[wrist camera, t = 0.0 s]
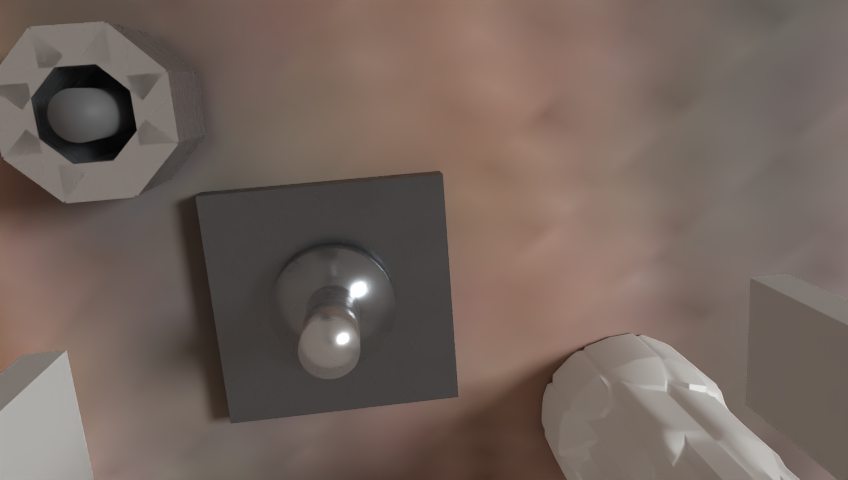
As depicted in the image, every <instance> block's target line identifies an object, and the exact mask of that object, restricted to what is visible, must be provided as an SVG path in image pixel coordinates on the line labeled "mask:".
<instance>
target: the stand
mask: <svg viewBox="0 0 848 480" xmlns="http://www.w3.org/2000/svg"><path fill="white" fill-rule="evenodd" d="M47 115H48V120H49V123H50V125H51V127H52V129H53V130H54V131H55V132H56V133H57V134H58V135H59V136H60V137H62V138H63V139H65V140H67V141H70V142H75V143H83V142H88V141H93V140H97V139H101V140H102V141H104V142H105V143H106V144H108V145H109V146H110V147H112V148H113V149H114V150H116V151H117V152H120V151H122V149H123V148H124V147H125V145H126V144H127V143H128V142H129V140H130V139H131V138H132V136H133V135H134V134H135V133H136V131H137V128H136V122H135V116H134V110H133V105H132V99H131V93H130V90H129V89H127V88H126V87H125V86H123V85H122V84H121V83H120V82H118V81H117V80H116V79H114V78H113V77H112V76H111V75H109V74H108V73H107V72H106V71H104V70H102V71H101V73H100V74H99V75H98V76H97V78H96V79H95V80H94V82H93V83H92V84H91V86H90V87H89V88H69V89H64V90H62V91H60V92H58V93H57V94H55V95H54V96H53V98H52V99H51V101H50V103H49V105H48V110H47Z"/></svg>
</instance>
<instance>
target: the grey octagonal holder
mask: <svg viewBox="0 0 848 480" xmlns="http://www.w3.org/2000/svg"><path fill="white" fill-rule="evenodd" d="M102 70H104V71H106V72H107V73H108V74H109V75H111V76H112V77H113V78H114V79H116V80H117V81H118V82H120V83H121V84H122V85H123V86H125V87H126V88H127V89H129V90H130V93H131V99H132V105H133V110H134V116H135V122H136V128H137V131H136V133H135V134H134V135H133V136H132V138H131V139H130V140H129V142H128V143H127V144H126V145H125V147H124V148H123V149H122V151H120V152H117V151H116V150H114V149H113V148H112V147H110V146H109V145H108V144H106V143H105V142H104V141H102V140H101V139H97V140H93V141H88V142H83V143H75V142H70V141H67V140H65V139H63V138H62V137H60V136H59V135H58V134H57V133H56V132H55V131H54V130H53V129H52V127H51V125H50V123H49V120H48V115H47V110H48V105H49V103H50V101H51V99H52V98H53V96H54V95H55V94H57V93H58V92H60V91H62V90H64V89H69V88H89V87H90V86H91V84H92V83H93V82H94V80H95V79H96V78H97V76H98V75H99V74H100V73H101V71H102ZM195 73H196V72H195V71H194V70H192V69H191V68H190V67H189V66H188V65H186V64H185V63H184V62H183V61H181V60H180V59H179V58H178V57H176V56H175V55H174V54H173V53H171V52H170V51H169V50H168V49H167V48H165V47H164V46H163V45H162V44H160V43H159V42H158V41H157V40H155V39H154V38H153V37H152V36H150V35H149V34H148V33H147V32H144V31H140V30H136V29H132V28H128V27H124V26H120V25H116V24H112V23H108V22H89V23H75V24H60V25H46V26H31V27H30V28H27V30H26V31H25V32H24V34H23V35H22V36H21V38H20V39H19V41H18V42H17V43H16V45H15V46H14V47H13V49H12V50H11V51H10V53H9V54H8V55H7V57H6V58H5V59H4V61H3V62H2V63H1V65H0V152H1V156H2V157H4V158H3V159H4V160H5V161H6V162H8V163H9V164H11V165H12V166H13V167H15V168H16V169H18V170H19V171H20V172H22V173H23V174H24V175H26V176H27V177H29V178H30V179H31V180H33V181H34V182H36V183H37V184H38V185H40V186H41V187H42V188H44V189H45V190H47V191H48V192H49V193H51V194H52V195H54V196H55V197H56V198H58V199H59V200H60V201H62V202H63V203H64V202H66V203H75V202H87V201H98V200H109V199H120V198H131V197H137V196H139V195H141V194H143V193H144V192H146V191H148V190H150V189H152V188H154V187H156V186H158V185H160V184H162V183H164V182H166V181H168V180H170V179H171V178H172V177H173V176H174V174H175V173H176V172H177V171H178V169H179V168H180V167H181V165H182V164H183V163H184V162H185V160H186V159H187V158H188V157H189V155H190V154H191V153H192V152H193V150H194V149H195V148H196V147H197V145H198V144H199V143H200V142H201V140H202V139H203V138H204V137H205V134H206V129H205V123H204V116H203V109H202V103H201V96H200V89H199V83H198V76H197V74H195Z"/></svg>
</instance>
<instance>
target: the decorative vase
mask: <svg viewBox="0 0 848 480" xmlns="http://www.w3.org/2000/svg"><path fill="white" fill-rule="evenodd" d="M541 421H542V425H543V427H544V429H545V438H546V440H547V442H548V444H549V446H550V448H551V450H552V452H553V455H554V457H555V459H556V461H557V462H558V464H559V466H560V468H561V470H562V472H563V474H564V475H565V477H566V479H567V480H800V479H799V478H797V477H796V476H795V475H794V474H793V473H792V472H791V471H790V470H788V469H787V468H786V467H785V465H784V463H783V462H782V460H781V458H780V457H779V455H778V454H776V453H775V452H774V451H773V450H772V449H771V448H770V447H768V446H767V445H766V444H765V443H764V442H763V441H762V440H760V439H759V438H758V437H757V436H756V435H755V434H754V433H752V432H751V431H750V430H749V429H748V428H747V427H746V426H744V425H743V424H742V423H741V422H740V421H739V420H738V419H737V418H736V417H735V416H734V415H733V414H732V413H731V412H730V411H729V410H728V408H727V407H726V405H725V403H724V399H723V396H722V393H721V391H720V390H719V389H718V387H717V385H716V384H715V383H714V382H713V381H712V380H710V379H709V378H708V377H707V376H706V375H705V374H703V373H702V372H701V371H700V370H699V369H697V368H696V367H695V366H694V365H693V364H691V363H690V362H689V361H688V360H687V359H685V358H684V357H683V356H682V355H681V354H679V353H678V352H677V351H676V350H674V349H673V348H672V347H671V346H669V345H667V344H665V343H663V342H661V341H658V340H655V339H652V338H650V337H647V336H644V335H639V336H635V335H634V334H632V333H631V334H625V335H619V336H613V337H608V338H606V339H603V340H601V341H598V342H596V343H593V344H591V345H588V346H586V347H585V348H584V350H583V351H577V352H575V353H574V354H572V355H571V356H570V357H569V358H568V359H567V360H566V361H565V362H564V363H563V364H562V365H561V366H560V367H559V368H558V369H557V371H556V372H555V373H554V374H553V380H552V382H551V383H549V384H547V386H546V389H545V392H544V395H543V401H542V417H541Z"/></svg>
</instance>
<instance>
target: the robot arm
mask: <svg viewBox="0 0 848 480" xmlns="http://www.w3.org/2000/svg"><path fill="white" fill-rule="evenodd" d="M746 405H747V406H748V407H749V408H751V409H752V410H753V411H754V412H755V413H757V414H758V415H759V416H760V417H762V418H763V419H764V420H765V421H766V422H768V423H769V424H770V425H771V426H773V427H774V428H775V429H776V430H777V431H779V432H780V433H781V434H782V435H784V436H785V437H786V438H787V439H788V440H790V441H791V442H792V443H793V444H795V445H796V446H797V447H798V448H799V449H801V450H802V451H803V452H804V453H806V454H807V455H808V456H809V457H810V458H812V459H813V460H814V461H815V462H817V463H818V464H819V465H820V466H821V467H823V468H824V469H825V470H826V471H828V472H829V473H830V474H831V475H832V476H834V477H835V478H836V479H837V480H848V300H846V299H844V298H841V297H839V296H837V295H835V294H832V293H830V292H828V291H825V290H823V289H821V288H819V287H816V286H814V285H812V284H809V283H807V282H805V281H802V280H800V279H798V278H796V277H793V276H791V275H789V274H780V275H771V276H761V277H752V278H750V303H749V330H748V357H747V383H746ZM0 480H94V478H93V473H92V468H91V464H90V459H89V454H88V449H87V445H86V440H85V435H84V431H83V426H82V421H81V417H80V412H79V407H78V403H77V398H76V393H75V388H74V384H73V379H72V374H71V370H70V365H69V360H68V356H67V351H66V350H65V351H55V352H46V353H36V354H27V355H22V356H21V357H20V358H18V359H17V360H16V361H15V362H14V363H12V364H11V365H10V366H9V367H7V368H6V369H5V370H4V371H3V372H1V373H0Z"/></svg>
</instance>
